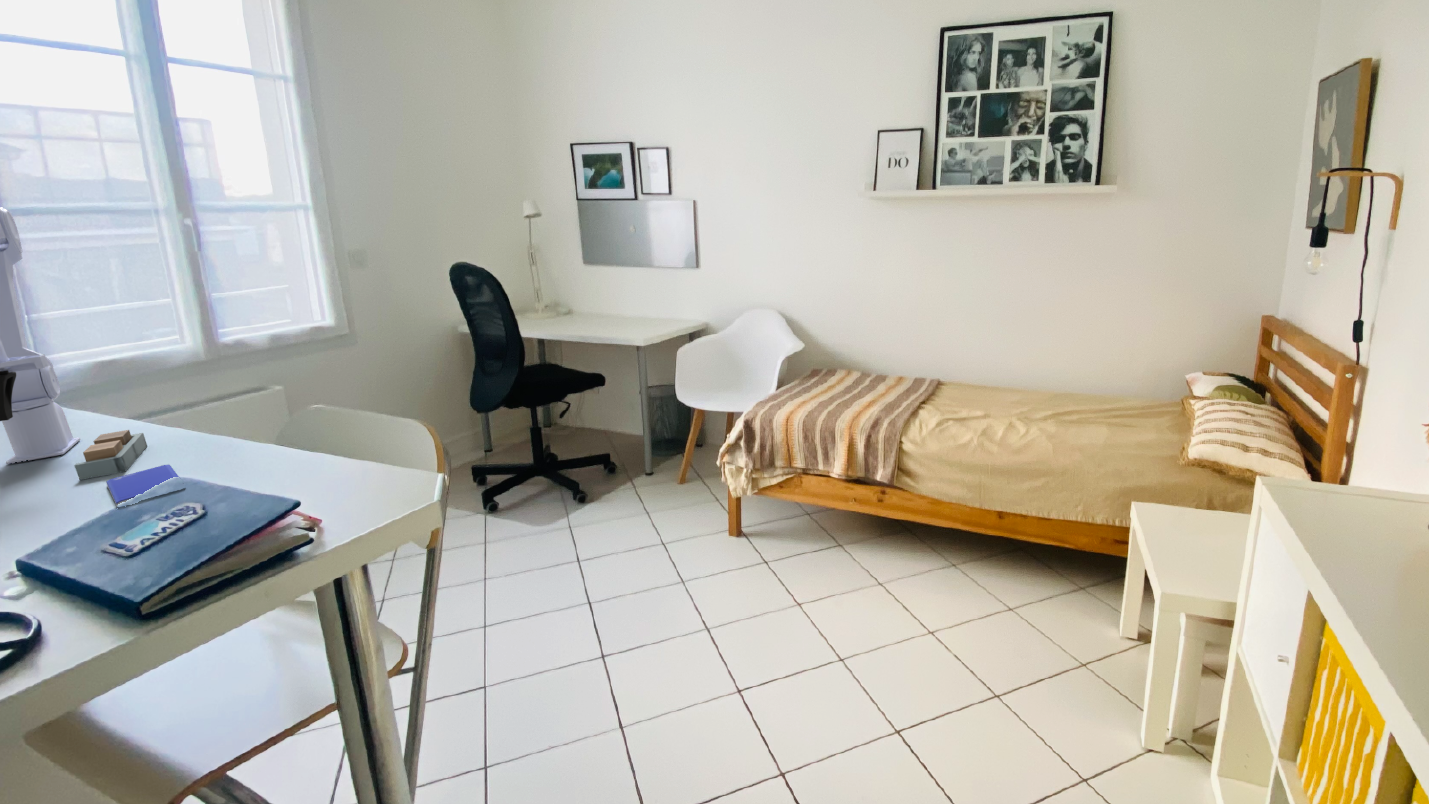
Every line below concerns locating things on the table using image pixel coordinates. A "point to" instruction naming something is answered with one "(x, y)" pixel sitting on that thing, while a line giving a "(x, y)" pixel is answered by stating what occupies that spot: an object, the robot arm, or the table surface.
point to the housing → (113, 460)
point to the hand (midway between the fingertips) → (5, 419)
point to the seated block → (114, 437)
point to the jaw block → (103, 450)
